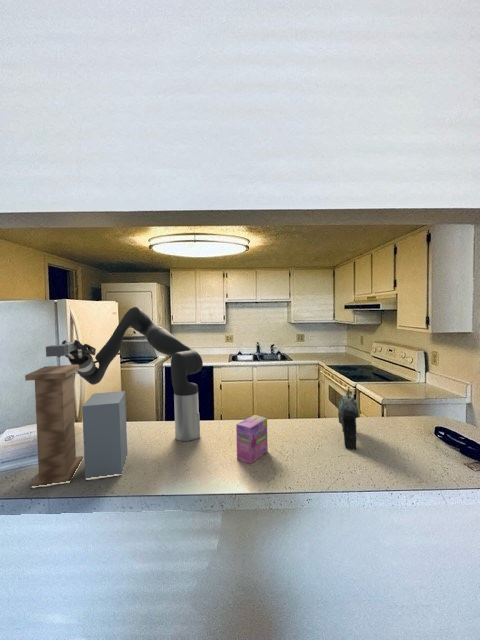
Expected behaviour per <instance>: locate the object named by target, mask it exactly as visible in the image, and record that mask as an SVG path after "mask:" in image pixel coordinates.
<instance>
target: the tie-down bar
mask: <svg viewBox="0 0 480 640" xmlns="http://www.w3.org/2000/svg"><path fill="white" fill-rule="evenodd" d="M67 342H68V343H65V344H62V343H61V344H55V345H53V344H51V345H48V346H45V357H48V358H49V357H57V356H61V357H63V356H64V357H65V355H67V354H68V353H69V352H71V351H73V350H76V347H75V346H74V341H67Z"/></svg>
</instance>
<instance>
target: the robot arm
mask: <svg viewBox="0 0 480 640" xmlns="http://www.w3.org/2000/svg"><path fill="white" fill-rule="evenodd" d="M129 328H132V329H133V330H135V331H136V332H138V333H140V334H141V335H143V336H144V337H146V341H147V342H148V343H149V345H150V346H151V347H152V348H153V349H155V351H157V352H158V353H161V354H164V355H167V356H170V357H171V358H170V359H171V360H170V374H171V385H172V387H173V401H174V403H173V404H174V429H175V430H174V436H175V437H174V438H175V439H176V441H179V440H180V441H179V442H190V440H191V441H195V440H196V439H200V438H201V421H200V412H199V407H200V406H199V403H200V402H199V385H198V384H197V383H194V382H189V380H188V376H189V375H190V376H191V375H194V374H197V373H199V372H201V370H202V369H203V365H204V364H203V363H204V362H203V359H202V356H201V355H200V354H199V353H198V352H197V351H196V350H195V349H193V348H192V347H190V346H188V345H186V344H184V343H183V342H182V341H181V340H179V339H178V338H177V337H175V336H174V335H173V334H172V333H171V332H169V330H167V328H164V327H163V326H160V325H158V324H156V323H155V322H154V320H153V319H152V318H151V317H150V316H149V314H147V313H146V312H145V311H144V310H142V309H141V308H140V307H139V306H133V307H131V308H129V309H128V310H127V311H126V313H124V316H123V317H122V318H121V319H120V322H119V323H118V324H117V326H116V328H115V329H114V331H113V333H112V334H111V336H110V338H109V339H108V340H107V341H106V343H105V344H104V345H103V346H102V347H101V349H100V350H99V351H98V353H96V350H97V349H96V348H95V347H93V346H91V345H90V344H88V343H84V344H82V343H81V342H80V341H79V340H78V339H74V341H73V342H74V346H75V347H76V350H73V351H71V352H69V353H68V354H67V355H65V356H64V357H66V358H67V359H68V361H69V362H70V365H79V370H77V374H78V375H79V376H80V377H81V378H82V379H83V380H85V381H86V382H87V383H89V384H90V385H92V386H93V385H94V386H95V385H97V384H99V383H100V382H101V381H102V380H103V378H104V376H105V374H106V373H107V372H106V371H107V369H108V367H109V366H110V365H111V363H112V361H113V360H114V359H115V358H116V357H117V356H118V355H119V352H120V351H121V348H122V344H123V340H124V336H125V333H126V332H127V331H128V329H129ZM68 342H69V341H67V340H66V339H65V340H63V341H62V342H61V344H65V343H68ZM93 356H94V357H95V358H93ZM56 357H57V358H61V357H62V356H56ZM94 359H95V360H96V361H97V364H98V367H97V365H96V362H95V361H94Z"/></svg>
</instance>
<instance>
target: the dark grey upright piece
mask: <svg viewBox="0 0 480 640" xmlns="http://www.w3.org/2000/svg"><path fill="white" fill-rule="evenodd" d="M355 398H356V397H355V395H353V396H350V386H348V387H347V392H346V395H342V396H341V400H340V401H339V400H338V410H337V412H338V413H337V415H338V416H337V417H338V422H339V424H340V425H341V429H342V432H343V442H344V448H345V449H346V450H357V418H359V408H358V402H357V399H355Z"/></svg>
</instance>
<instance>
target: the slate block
mask: <svg viewBox="0 0 480 640" xmlns="http://www.w3.org/2000/svg"><path fill="white" fill-rule="evenodd" d="M126 405H127V402H126V390H122V391H120V390H119V391H109V392H95V393H92V394H91V396H90V397H89V398H88V399H87V400H86V401H85V402H84V403H83V405H82V406H81V409H82V410H81V412H82V433H83V434H82V435H83V436H82V438H83V463H84V466H83V467H84V480H85V479H86V478H91V477H99V476H107V475H114V474H122V475H123V473H122V471H123V472H124V470H123V467H124V468H125V466H124V464H125V465H126V462H125V460H126V461H127V458H126V456H127V457H128V432H127V407H126Z"/></svg>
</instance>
